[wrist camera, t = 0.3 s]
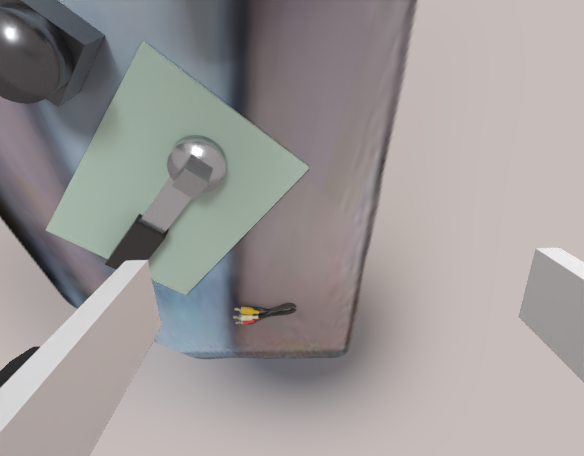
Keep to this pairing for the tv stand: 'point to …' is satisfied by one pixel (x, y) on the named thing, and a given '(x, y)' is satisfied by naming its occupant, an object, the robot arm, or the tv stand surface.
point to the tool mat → (153, 173)
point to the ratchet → (173, 196)
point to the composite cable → (261, 313)
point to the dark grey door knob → (44, 51)
